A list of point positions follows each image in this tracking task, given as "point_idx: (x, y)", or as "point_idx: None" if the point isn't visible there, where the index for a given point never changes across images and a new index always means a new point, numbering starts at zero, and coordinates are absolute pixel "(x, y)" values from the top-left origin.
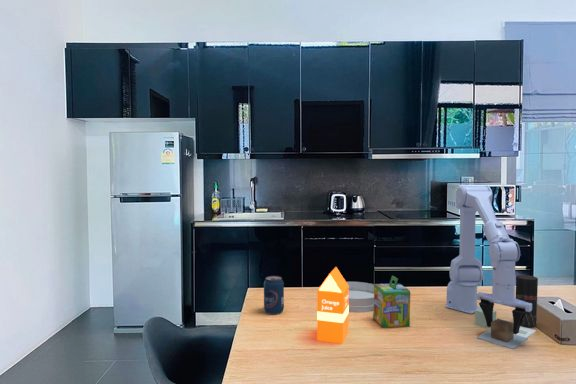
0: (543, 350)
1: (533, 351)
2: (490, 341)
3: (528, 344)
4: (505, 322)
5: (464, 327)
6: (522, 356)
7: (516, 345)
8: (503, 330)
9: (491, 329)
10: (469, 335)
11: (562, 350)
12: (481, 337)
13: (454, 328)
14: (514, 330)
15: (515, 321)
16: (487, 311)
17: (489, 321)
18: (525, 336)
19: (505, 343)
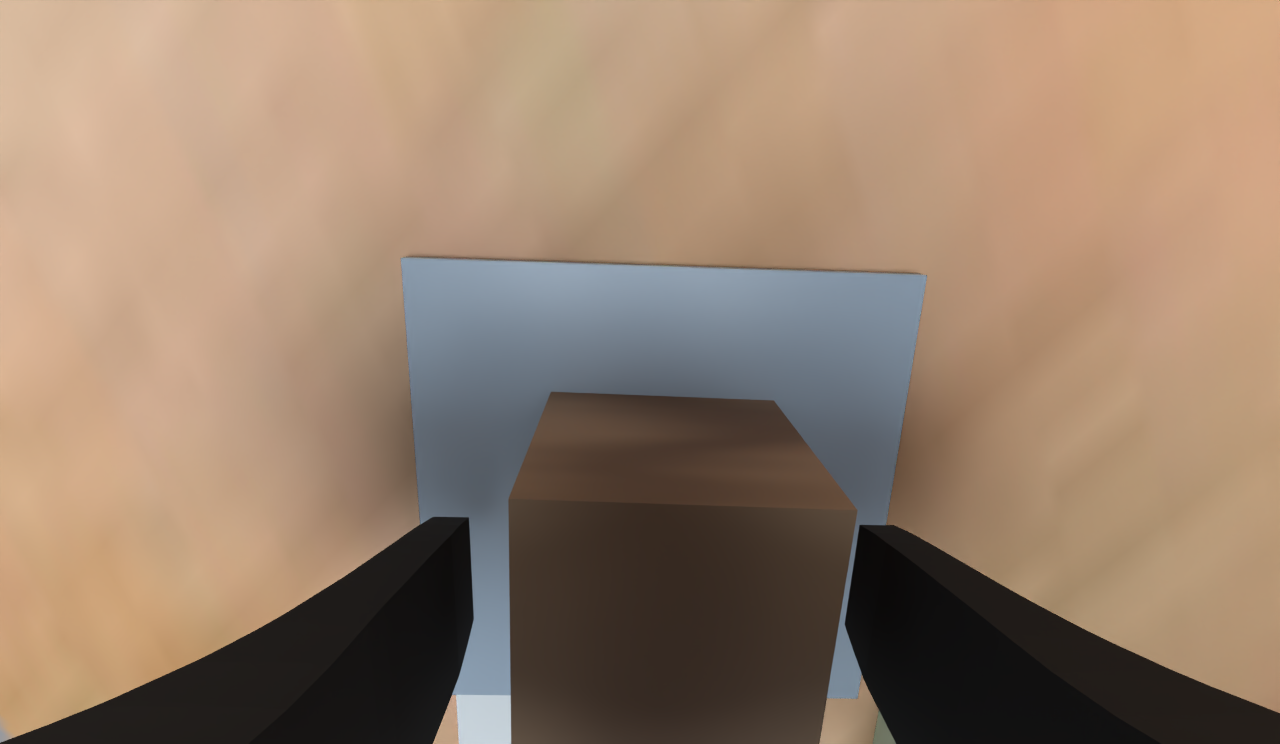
0: (164, 498)
1: (220, 380)
2: (732, 270)
3: (363, 549)
4: (632, 694)
5: (1155, 515)
6: (222, 92)
7: (423, 380)
8: (593, 456)
9: (799, 448)
10: (1034, 293)
11: (42, 645)
12: (874, 307)
13: (1270, 387)
14: (423, 539)
15: (286, 645)
16: (1109, 710)
17: (904, 590)
18: (478, 730)
19: (550, 339)
